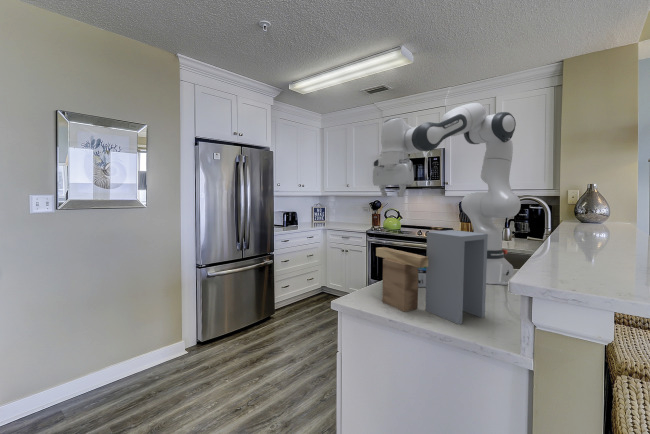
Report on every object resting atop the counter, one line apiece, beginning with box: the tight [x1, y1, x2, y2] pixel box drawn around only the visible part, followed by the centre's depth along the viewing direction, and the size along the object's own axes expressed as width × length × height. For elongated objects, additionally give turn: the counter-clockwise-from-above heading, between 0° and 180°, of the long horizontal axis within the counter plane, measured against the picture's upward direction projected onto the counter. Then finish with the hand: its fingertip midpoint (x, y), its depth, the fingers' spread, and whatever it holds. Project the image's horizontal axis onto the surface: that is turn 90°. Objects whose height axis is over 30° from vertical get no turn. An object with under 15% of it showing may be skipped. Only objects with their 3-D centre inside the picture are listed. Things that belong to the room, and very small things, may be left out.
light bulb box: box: [418, 267, 426, 288], centre depth 136 cm, size 11×7×11 cm, turn 168°
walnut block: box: [381, 258, 419, 313], centre depth 110 cm, size 6×11×16 cm, turn 29°
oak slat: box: [375, 246, 428, 268], centre depth 109 cm, size 4×22×3 cm, turn 29°
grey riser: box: [424, 229, 488, 325], centre depth 102 cm, size 12×13×26 cm
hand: (392, 197), depth 124 cm, fingers open, 8 cm apart
